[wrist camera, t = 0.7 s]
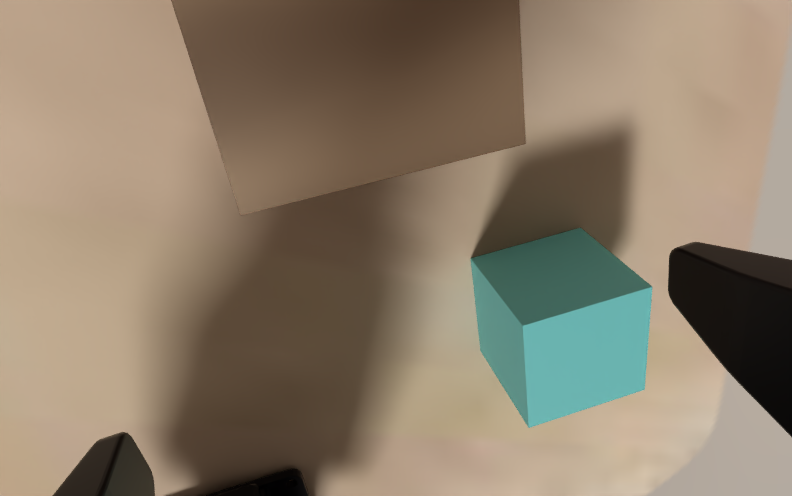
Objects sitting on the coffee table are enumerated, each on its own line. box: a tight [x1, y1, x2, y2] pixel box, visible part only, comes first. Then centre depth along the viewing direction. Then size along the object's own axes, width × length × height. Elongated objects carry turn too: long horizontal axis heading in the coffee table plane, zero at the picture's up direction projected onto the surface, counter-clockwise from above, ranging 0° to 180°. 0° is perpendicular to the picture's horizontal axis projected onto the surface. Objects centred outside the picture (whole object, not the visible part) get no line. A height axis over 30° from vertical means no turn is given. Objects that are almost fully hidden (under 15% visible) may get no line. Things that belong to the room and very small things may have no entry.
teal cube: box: [471, 228, 652, 428], centre depth 24 cm, size 5×5×5 cm
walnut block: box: [171, 0, 526, 215], centre depth 18 cm, size 9×9×4 cm
